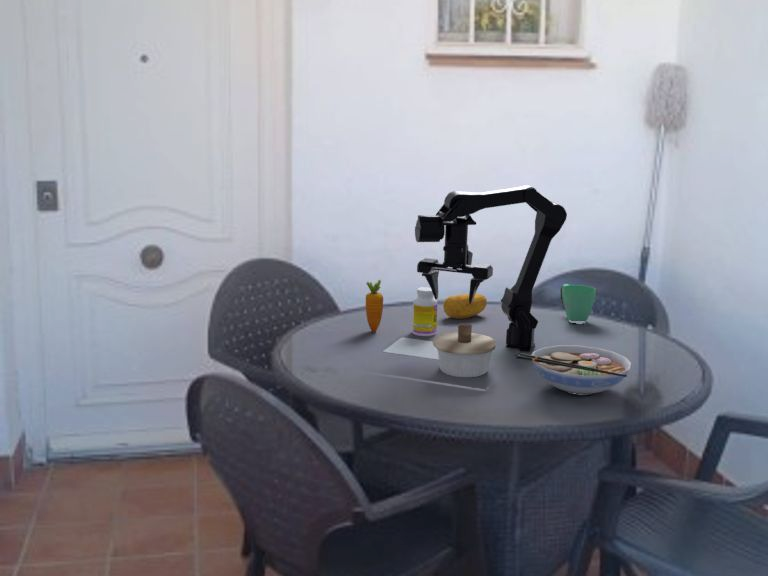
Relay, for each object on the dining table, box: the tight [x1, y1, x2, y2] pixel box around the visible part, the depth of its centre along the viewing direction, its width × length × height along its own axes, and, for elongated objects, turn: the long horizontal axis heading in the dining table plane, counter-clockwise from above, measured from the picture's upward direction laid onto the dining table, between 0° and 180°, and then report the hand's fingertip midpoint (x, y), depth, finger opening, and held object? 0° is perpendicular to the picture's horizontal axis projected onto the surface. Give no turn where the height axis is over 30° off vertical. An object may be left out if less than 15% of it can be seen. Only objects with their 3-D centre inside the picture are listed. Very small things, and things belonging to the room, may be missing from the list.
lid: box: [432, 322, 497, 355], centre depth 222 cm, size 15×15×5 cm
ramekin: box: [437, 349, 493, 378], centre depth 224 cm, size 13×13×7 cm
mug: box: [560, 283, 598, 322], centre depth 272 cm, size 15×10×10 cm
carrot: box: [365, 279, 384, 333], centre depth 253 cm, size 5×5×15 cm
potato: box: [443, 293, 487, 320], centre depth 272 cm, size 7×14×7 cm, turn 118°
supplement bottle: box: [411, 286, 438, 337], centre depth 253 cm, size 7×7×13 cm
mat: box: [382, 336, 439, 361], centre depth 240 cm, size 18×14×1 cm
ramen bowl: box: [515, 344, 632, 395], centre depth 213 cm, size 25×23×8 cm
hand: (453, 301), depth 239 cm, fingers open, 9 cm apart
